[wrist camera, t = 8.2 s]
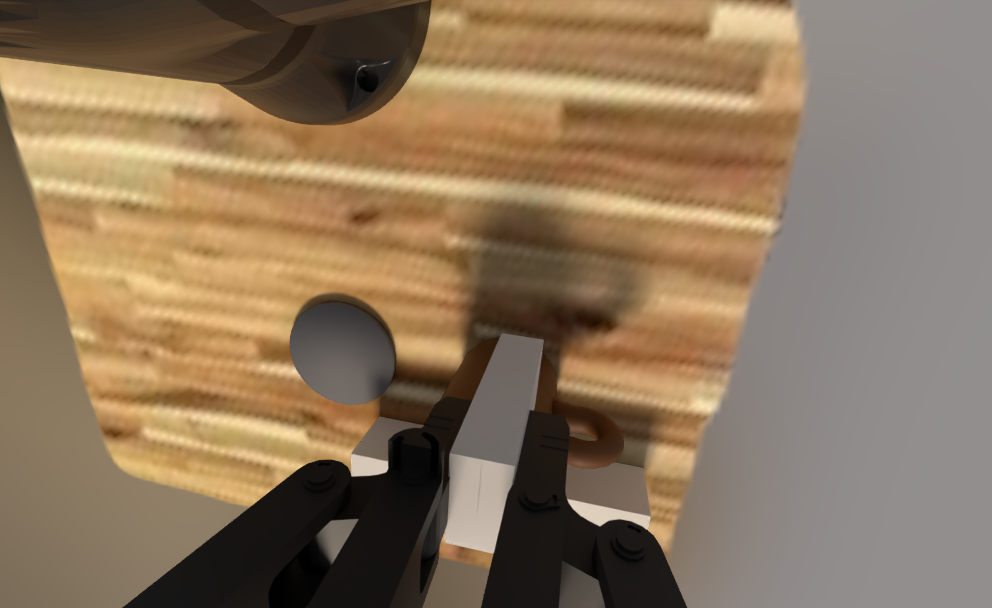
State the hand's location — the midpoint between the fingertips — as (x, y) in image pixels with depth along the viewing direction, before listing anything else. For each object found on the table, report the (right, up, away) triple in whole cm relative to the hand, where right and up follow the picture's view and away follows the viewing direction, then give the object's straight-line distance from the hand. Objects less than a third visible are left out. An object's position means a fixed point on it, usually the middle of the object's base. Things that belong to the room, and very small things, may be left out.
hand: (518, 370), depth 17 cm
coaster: (-13, -2, +21) cm, 25 cm away
